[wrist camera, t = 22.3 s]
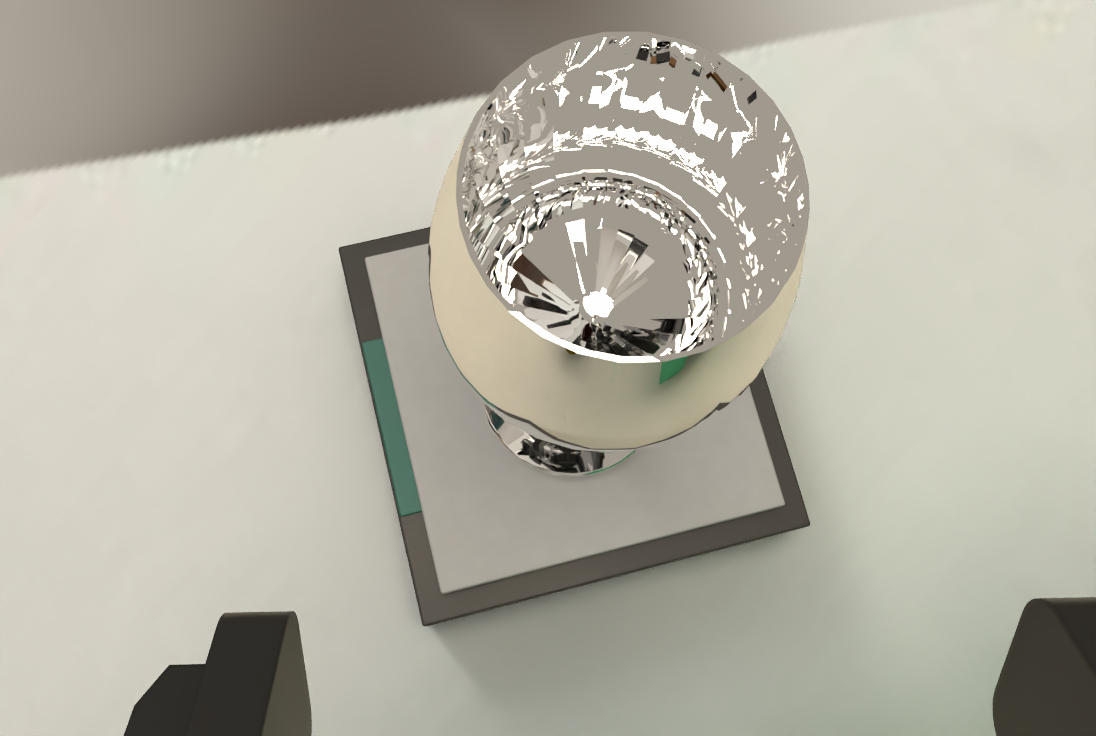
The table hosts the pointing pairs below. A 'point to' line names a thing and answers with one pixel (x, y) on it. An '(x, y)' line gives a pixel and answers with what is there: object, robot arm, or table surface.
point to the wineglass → (616, 247)
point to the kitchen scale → (533, 496)
